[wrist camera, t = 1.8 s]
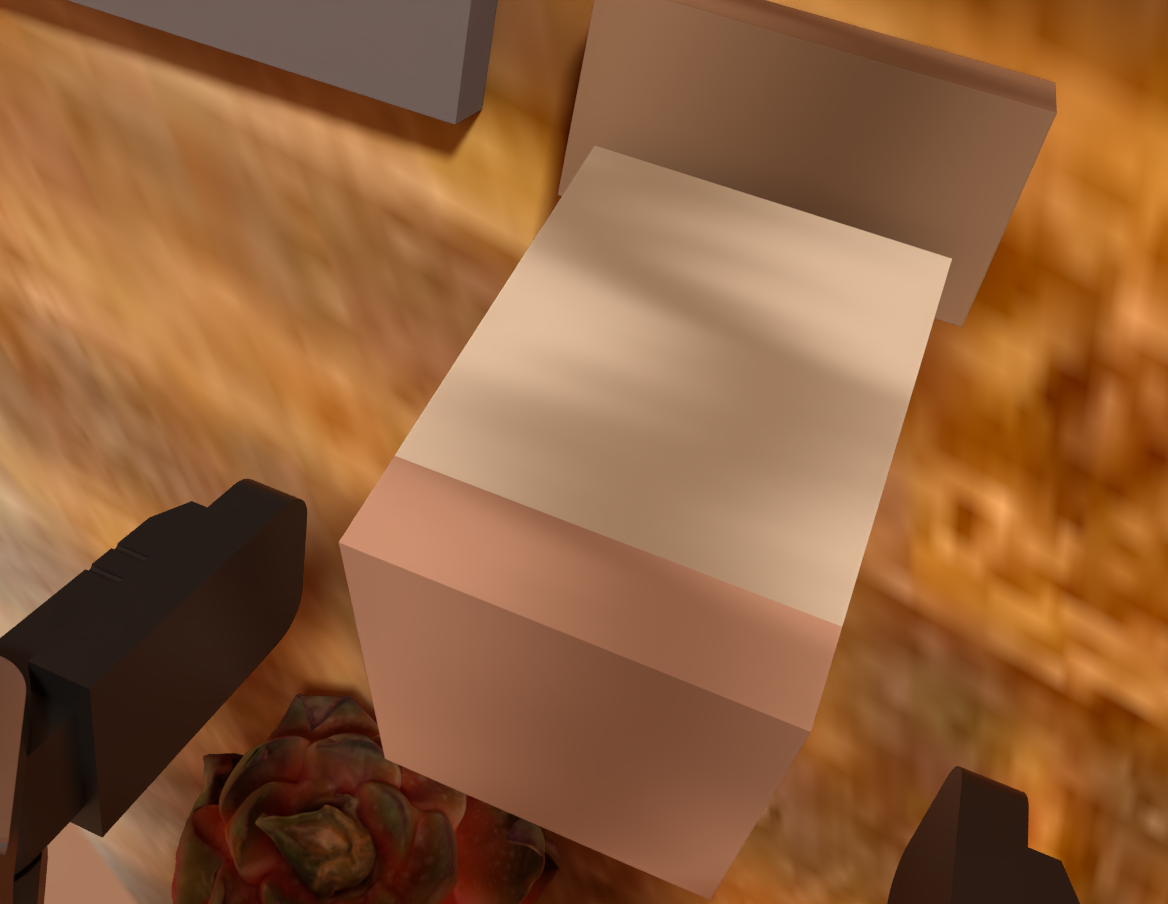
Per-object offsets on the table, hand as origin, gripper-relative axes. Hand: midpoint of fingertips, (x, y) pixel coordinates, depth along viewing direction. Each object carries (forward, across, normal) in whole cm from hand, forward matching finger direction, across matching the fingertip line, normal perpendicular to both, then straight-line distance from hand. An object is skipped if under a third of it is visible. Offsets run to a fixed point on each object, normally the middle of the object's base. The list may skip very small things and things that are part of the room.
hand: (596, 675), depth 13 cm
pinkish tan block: (+7, 0, 0) cm, 7 cm away
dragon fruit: (+8, +3, +14) cm, 16 cm away
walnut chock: (+7, 0, -5) cm, 9 cm away
